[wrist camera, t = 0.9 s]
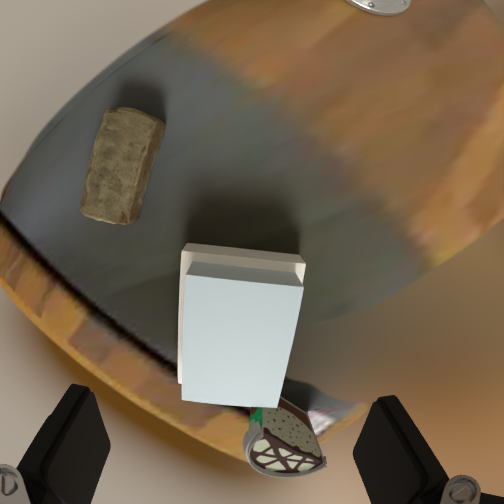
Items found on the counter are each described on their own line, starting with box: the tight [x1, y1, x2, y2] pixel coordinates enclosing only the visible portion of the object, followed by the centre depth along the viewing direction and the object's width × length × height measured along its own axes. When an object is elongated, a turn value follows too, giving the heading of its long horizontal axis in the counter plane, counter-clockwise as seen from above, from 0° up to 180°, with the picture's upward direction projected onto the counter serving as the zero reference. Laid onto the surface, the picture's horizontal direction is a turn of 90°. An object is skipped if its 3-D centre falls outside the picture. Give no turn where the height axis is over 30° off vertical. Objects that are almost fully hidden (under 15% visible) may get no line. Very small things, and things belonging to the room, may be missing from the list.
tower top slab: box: [182, 261, 304, 408], centre depth 29 cm, size 14×10×4 cm
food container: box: [243, 396, 327, 478], centre depth 33 cm, size 12×6×10 cm, turn 46°
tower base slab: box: [178, 243, 306, 384], centre depth 33 cm, size 16×12×4 cm
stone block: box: [80, 107, 166, 225], centre depth 27 cm, size 6×12×5 cm, turn 163°
